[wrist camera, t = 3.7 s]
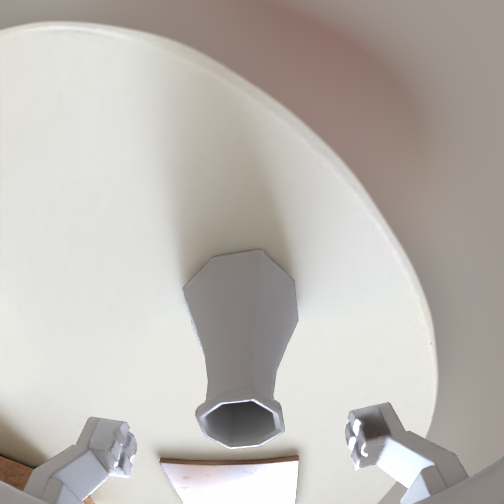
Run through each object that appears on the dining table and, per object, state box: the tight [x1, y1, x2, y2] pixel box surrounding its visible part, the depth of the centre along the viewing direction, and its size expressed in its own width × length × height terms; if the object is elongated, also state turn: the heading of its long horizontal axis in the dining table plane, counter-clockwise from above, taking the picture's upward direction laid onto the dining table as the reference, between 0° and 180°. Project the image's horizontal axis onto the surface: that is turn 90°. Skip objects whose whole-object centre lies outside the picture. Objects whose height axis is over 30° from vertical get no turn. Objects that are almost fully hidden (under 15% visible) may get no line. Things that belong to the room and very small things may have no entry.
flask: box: [182, 249, 298, 449], centre depth 14 cm, size 7×7×10 cm
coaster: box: [160, 456, 299, 504], centre depth 26 cm, size 14×14×1 cm
